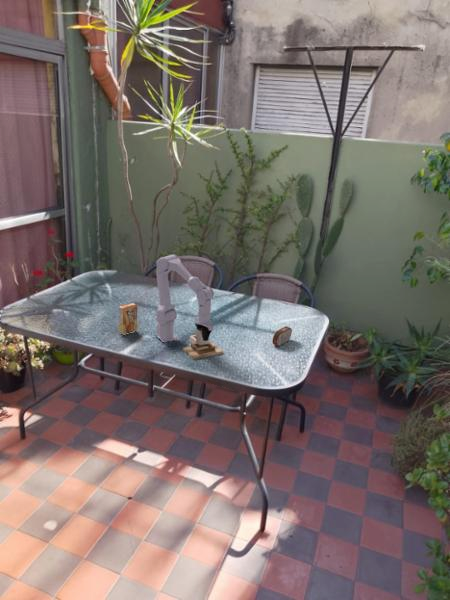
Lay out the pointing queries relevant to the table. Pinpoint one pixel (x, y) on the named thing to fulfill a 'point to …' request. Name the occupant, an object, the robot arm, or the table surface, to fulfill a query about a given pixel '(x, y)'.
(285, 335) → the sandwich
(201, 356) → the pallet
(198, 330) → the billet
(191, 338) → the button housing
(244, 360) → the table surface
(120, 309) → the candy box
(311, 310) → the table surface
